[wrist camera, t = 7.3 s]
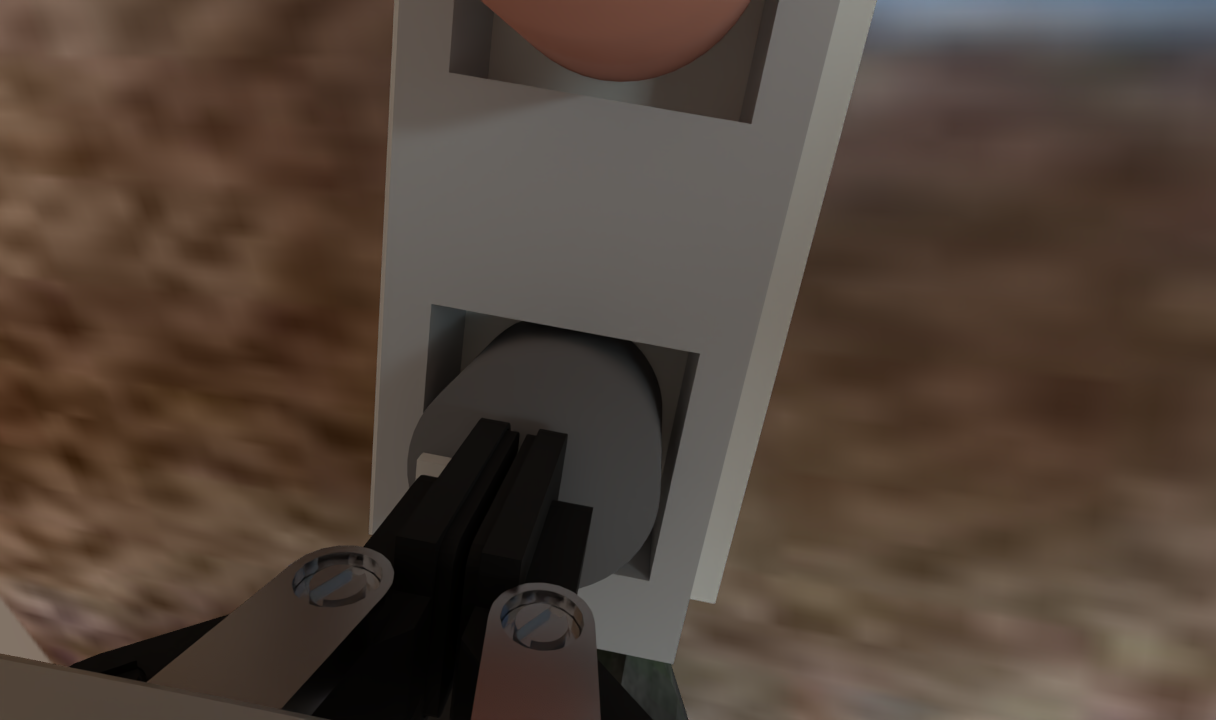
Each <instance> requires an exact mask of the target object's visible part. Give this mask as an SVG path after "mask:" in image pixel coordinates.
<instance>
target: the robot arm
mask: <svg viewBox="0 0 1216 720" xmlns="http://www.w3.org/2000/svg"><path fill="white" fill-rule="evenodd" d="M519 437H520V434H519V432H515V431H511V425H510V423H508V422H502V421H497V420H492V419H486V418H481V419H480V420H479V421H478V422H477V424H476V425H475V427H474V428H473V429H472V431H471V432H470V434H469V435H468V436H467V438H466V439H465V440H464V442H463V443H462V445H461V446H460V447H459V449H458V450H457V452H456V453H455V454H454V456H453V457H452V459H451V460H450V461H449V463H448V464H447V465H446V467H445V468H444V470H443V471H442V472H441V474H440V475H439V477H433V476H428V475H420V476H419V477H418V478H417V479H416V481H415V482H414V483H413V484H412V486H411V487H410V488H409V489H408V491H407V492H406V493H405V495H404V496H403V497H402V498H401V500H400V501H399V502H398V503H397V505H396V506H395V507H394V509H393V510H392V511H391V512H390V514H389V515H388V516H387V517H386V519H385V520H384V521H383V523H382V524H381V525H380V526H379V528H378V529H377V530H376V531H375V533H374V534H373V535H372V537H371V538H370V539H369V540H368V542H367V543H366V544H365V545H364V547H359V546H334V547H329V548H323V549H320V550H317V551H314V552H312V553H309V554H306V555H305V556H303V557H301V558H300V559H298V560H297V561H295V562H293V563H292V564H291V565H290V566H288V567H287V568H286V569H285V570H283V571H282V572H281V573H280V574H279V575H277V576H276V577H275V578H274V579H272V580H271V581H270V582H269V583H267V584H266V585H265V586H264V587H263V588H261V589H260V590H259V591H258V592H256V593H255V594H254V595H253V596H252V597H250V598H249V599H248V600H247V601H245V602H244V603H243V604H242V605H241V606H239V607H238V608H237V609H236V610H234V611H233V612H232V613H231V614H229V615H226V616H222V617H219V618H216V619H213V620H209V621H206V622H203V623H199V624H196V625H193V626H190V627H186V628H183V629H180V630H177V631H173V632H170V633H167V634H163V635H160V636H157V637H154V638H150V639H147V640H144V641H141V642H137V643H134V644H131V645H128V646H124V647H121V648H118V649H114V650H111V651H108V652H105V653H101V654H98V655H96V656H93V657H90V658H88V659H85V660H83V661H80V662H78V663H75V664H73V665H71V666H70V667H66V666H61V665H56V664H51V663H46V662H41V661H36V660H30V659H25V658H20V657H15V656H10V655H5V654H0V720H427V718H428V716H431V717H436V718H440V716H441V715H442V713H443V710H444V708H445V705H446V703H447V701H448V698H449V696H450V693H451V691H452V697H451V707H450V717H449V719H450V720H653V719H652V718H651V717H650V716H649V715H648V714H647V712H646V711H645V710H644V709H643V708H642V707H641V706H640V705H639V704H638V703H637V702H636V700H635V699H634V698H633V697H632V696H631V695H630V694H629V693H628V692H627V691H626V690H625V689H624V687H623V686H622V685H621V684H620V683H619V682H618V681H617V680H616V679H615V678H614V677H613V675H612V674H611V673H610V672H609V671H608V670H607V669H606V668H605V667H604V666H603V665H602V663H601V662H600V661H599V660H598V659H597V646H596V629H595V621H594V617H593V613H592V610H591V609H590V608H589V606H588V605H587V603H586V602H585V601H584V600H583V599H582V598H580V597H579V596H578V595H577V594H578V589H579V584H580V579H581V573H582V568H583V563H584V557H585V552H586V546H587V541H588V535H589V530H590V524H591V519H592V513H593V507H589V506H584V505H579V504H574V503H568V502H563V501H558V497H559V491H560V484H561V478H562V472H563V465H564V459H565V453H566V447H567V439H568V434H566V433H561V432H555V431H550V430H545V429H539V431H538V433H537V435H531V434H527V435H526V437H525V439H524V441H523V443H522V445H521V447H520V449H519V451H518V446H519Z"/></svg>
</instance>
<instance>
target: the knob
mask: <svg viewBox="0 0 1216 720" xmlns="http://www.w3.org/2000/svg"><path fill="white" fill-rule="evenodd" d="M481 418H486V419H492V420H497V421H502V422H508V423H510V425H511V431H515V432H519V434H520V437H519V446H518V451H519V449H520V447H521V445H522V443H523V441H524V439H525V437H526V435H527V434H531V435H537V433H538V431H539V429H545V430H550V431H555V432H561V433H566V434H568V439H567V447H566V453H565V459H564V465H563V472H562V478H561V484H560V491H559V497H558V501H563V502H568V503H574V504H579V505H584V506H589V507H593V513H592V519H591V524H590V530H589V535H588V541H587V546H586V552H585V557H584V563H583V568H582V573H581V579H580V584H579V588H583V587H586V586H589V585H592V584H594V583H596V582H598V581H601V580H603V579H605V578H607V577H608V576H610V575H612V574H613V573H615V572H616V571H618V570H619V569H620V568H622V567H623V566H624V565H625V564H626V563H628V562H629V561H630V560H631V559H632V558H633V556H634V555H635V554H636V553H637V552H638V551H639V550H640V548H641V547H642V545H643V544H644V542H645V541H646V539H647V538H648V536H649V534H650V532H651V529H652V527H653V525H654V522H655V519H656V516H657V512H658V508H659V501H660V487H661V447H662V397H661V391H660V387H659V384H658V380H657V377H656V375H655V373H654V371H653V368H652V366H651V365H650V363H649V362H648V360H647V358H646V357H645V355H644V354H643V353H642V352H641V350H640V349H639V348H638V347H637V346H636V345H635V344H634V343H633V342H632V341H629V340H624V339H618V338H613V337H608V336H602V335H597V334H592V333H586V332H581V331H575V330H570V329H565V328H559V327H554V326H548V325H543V324H538V323H532V322H527V321H520V322H518V323H515V324H514V325H512V326H510V327H509V328H507V329H506V330H504V331H503V332H502V333H501V334H499V335H498V336H497V337H496V338H495V339H494V340H493V341H492V342H491V343H490V344H489V345H488V346H487V347H486V348H485V349H484V350H483V351H482V352H481V353H480V354H479V355H478V356H477V357H476V358H475V359H474V360H473V361H472V362H471V363H470V364H469V365H468V366H467V367H466V368H465V369H464V370H463V371H462V372H461V373H460V374H459V375H458V376H457V377H456V378H455V379H454V380H453V381H452V382H451V383H450V384H449V385H448V386H447V387H446V388H445V389H444V390H443V391H442V392H441V393H440V394H439V395H438V396H437V397H436V398H435V399H434V400H433V401H432V403H431V404H430V405H429V406H428V407H427V409H426V410H425V412H424V413H423V415H422V416H421V418H420V419H419V422H418V424H417V426H416V428H415V430H414V432H413V436H412V439H411V442H410V446H409V452H408V459H407V477H408V484H409V488H410V487H411V486H412V484H413V483H414V482H415V481H416V479H417V478H418V477H419V476H420V475H428V476H433V477H439V475H440V474H441V472H442V471H443V470H444V468H445V467H446V465H447V464H448V463H449V461H450V460H451V459H452V457H453V456H454V454H455V453H456V452H457V450H458V449H459V447H460V446H461V445H462V443H463V442H464V440H465V439H466V438H467V436H468V435H469V434H470V432H471V431H472V429H473V428H474V427H475V425H476V424H477V422H478V421H479V420H480V419H481Z"/></svg>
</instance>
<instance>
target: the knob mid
mask: <svg viewBox="0 0 1216 720" xmlns="http://www.w3.org/2000/svg"><path fill="white" fill-rule="evenodd" d="M481 1H482V2H483V3H484V4H485V5H486V6H488V7H489V8H490V9H491V10H492V11H493V12H494V13H496V14H497V15H498V16H499V17H500V18H501V19H502V20H504V21H505V22H506V23H507V24H508V25H509V26H511V27H512V28H513V29H514V30H515V31H516V32H517V33H519V34H520V35H521V36H522V37H523V38H524V39H525V40H527V41H528V42H529V43H530V44H531V45H532V46H534V47H535V48H536V49H537V50H538V51H540V52H541V53H542V54H544V55H545V56H546V57H548V58H549V59H550V60H552V61H553V62H555V63H557V64H559V65H560V66H562V67H564V68H566V69H568V70H570V71H573V72H575V73H578V74H580V75H583V76H586V77H590V78H594V79H598V80H604V81H615V82H628V81H640V80H646V79H651V78H656V77H659V76H662V75H665V74H668V73H671V72H674V71H676V70H678V69H680V68H682V67H684V66H686V65H688V64H690V63H691V62H693V61H694V60H696V59H697V58H699V57H700V56H702V55H703V54H705V53H706V52H707V51H709V50H710V49H711V48H712V47H713V46H714V45H715V44H717V43H718V42H719V41H720V40H721V39H722V38H723V37H724V36H725V35H726V34H727V33H728V31H729V30H730V29H731V28H732V27H733V26H734V25H735V24H736V22H737V21H738V20H739V18H740V17H741V15H742V14H743V12H744V11H745V9H746V8H747V7H748V5H749V3H750V1H751V0H481Z"/></svg>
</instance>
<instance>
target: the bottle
mask: <svg viewBox="0 0 1216 720" xmlns="http://www.w3.org/2000/svg"><path fill="white" fill-rule="evenodd" d="M597 659H598V660H599V661H600V662H601V663H602V665H603V666H604V667H605V668H606V669H607V670H608V671H609V672H610V673H611V674H612V675H613V677H614V678H615V679H616V680H617V681H618V682H619V683H620V684H621V685H622V686H623V687H624V689H625V690H626V691H627V692H628V693H629V694H630V695H631V696H632V697H633V698H634V699H635V700H636V702H637V703H638V704H639V705H640V706H641V707H642V708H643V709H644V710H645V711H646V712H647V714H648V715H649V716H650V717H651V718H652V719H653V720H688V717H687V714H686V711H685V708H684V704H683V701H682V698H681V695H680V692H679V688H678V685H677V682H676V679H675V676H674V672H673V669H672V666H671V664H670V663H665V662H660V661H655V660H650V659H645V658H641V657H636V656H631V655H626V654H621V653H616V652H611V651H606V650H602V649H597ZM451 697H452V691H451V693H450V696H449V698H448V701H447V703H446V705H445V708H444V710H443V713H442V715H441V716H440V718H436V717H431V716H428V718H427V720H450V719H449V717H450V707H451Z"/></svg>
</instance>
